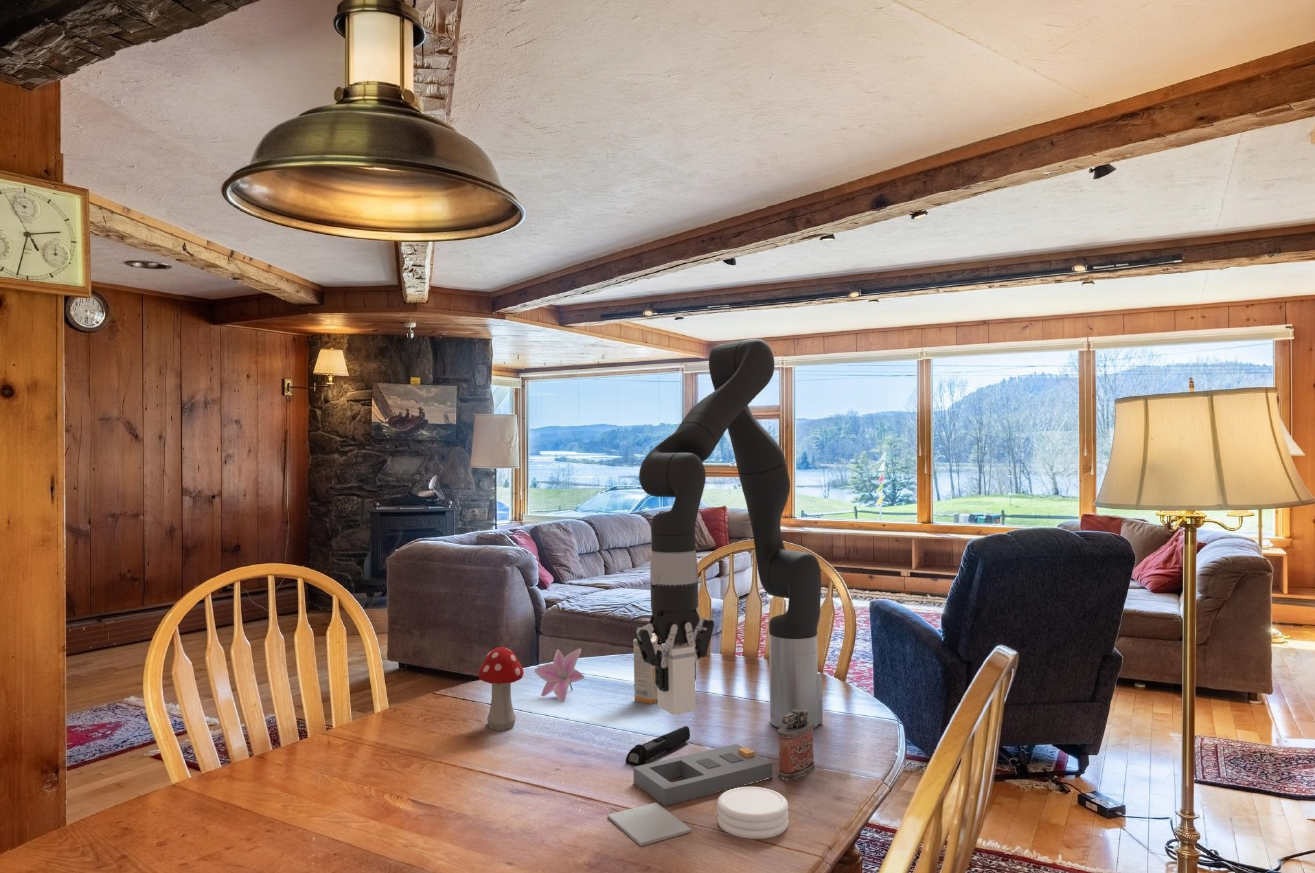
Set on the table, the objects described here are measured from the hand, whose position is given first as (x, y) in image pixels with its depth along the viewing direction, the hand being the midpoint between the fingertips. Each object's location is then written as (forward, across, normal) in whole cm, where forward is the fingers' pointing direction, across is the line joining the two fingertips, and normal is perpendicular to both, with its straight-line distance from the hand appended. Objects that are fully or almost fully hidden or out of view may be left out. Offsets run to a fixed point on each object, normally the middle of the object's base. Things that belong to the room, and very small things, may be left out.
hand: (675, 687), depth 128 cm
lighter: (+16, -20, +5) cm, 26 cm away
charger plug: (+3, 0, 0) cm, 3 cm away
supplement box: (+16, -20, -43) cm, 50 cm away
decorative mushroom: (+16, +14, -43) cm, 48 cm away
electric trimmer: (+16, -5, -14) cm, 22 cm away
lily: (+16, -4, -55) cm, 58 cm away
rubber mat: (+15, +10, +9) cm, 21 cm away
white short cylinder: (+16, -3, +16) cm, 23 cm away
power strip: (+16, -5, 0) cm, 16 cm away
